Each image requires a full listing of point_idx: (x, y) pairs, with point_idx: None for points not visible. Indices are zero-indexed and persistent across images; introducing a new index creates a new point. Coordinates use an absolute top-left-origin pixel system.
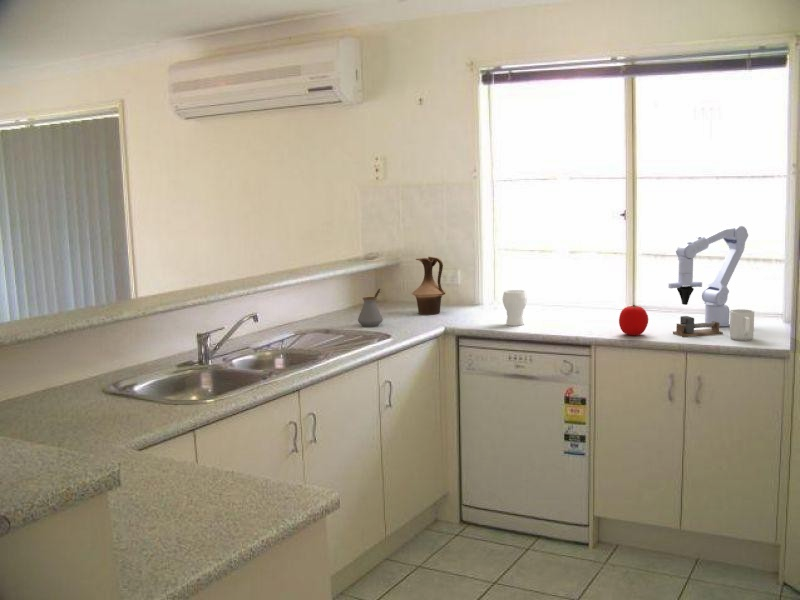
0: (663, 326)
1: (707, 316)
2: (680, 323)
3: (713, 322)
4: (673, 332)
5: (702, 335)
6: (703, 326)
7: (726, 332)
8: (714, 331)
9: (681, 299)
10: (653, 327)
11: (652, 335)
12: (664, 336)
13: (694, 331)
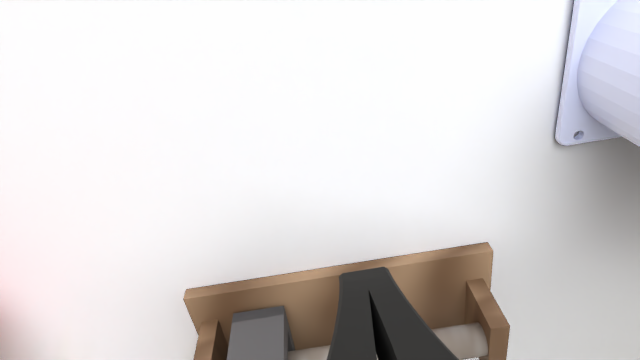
0: (176, 6)
1: (630, 111)
2: (227, 358)
3: (478, 355)
4: (187, 301)
5: None
6: None
7: (533, 298)
8: (450, 324)
9: (337, 327)
10: (63, 40)
11: (34, 323)
12: (112, 352)
13: (330, 312)
